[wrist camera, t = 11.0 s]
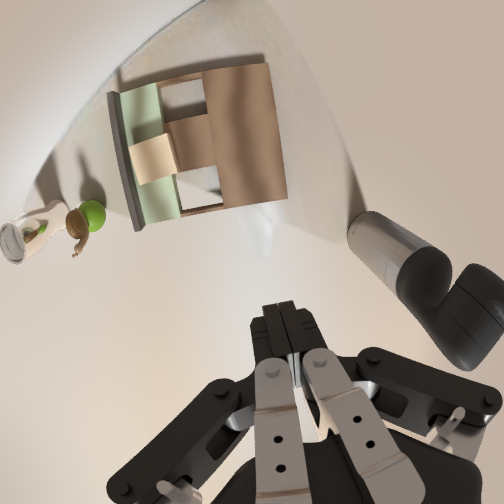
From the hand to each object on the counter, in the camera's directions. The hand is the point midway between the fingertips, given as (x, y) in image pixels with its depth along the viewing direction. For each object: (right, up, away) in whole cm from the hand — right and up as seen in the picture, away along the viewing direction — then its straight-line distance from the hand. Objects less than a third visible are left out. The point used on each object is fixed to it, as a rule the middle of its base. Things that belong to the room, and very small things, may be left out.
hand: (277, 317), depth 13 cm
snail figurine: (-28, +10, +29) cm, 42 cm away
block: (-16, +17, +24) cm, 34 cm away
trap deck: (-9, +20, +26) cm, 35 cm away
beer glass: (-38, +10, +28) cm, 48 cm away
